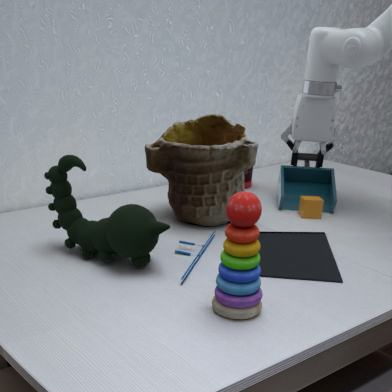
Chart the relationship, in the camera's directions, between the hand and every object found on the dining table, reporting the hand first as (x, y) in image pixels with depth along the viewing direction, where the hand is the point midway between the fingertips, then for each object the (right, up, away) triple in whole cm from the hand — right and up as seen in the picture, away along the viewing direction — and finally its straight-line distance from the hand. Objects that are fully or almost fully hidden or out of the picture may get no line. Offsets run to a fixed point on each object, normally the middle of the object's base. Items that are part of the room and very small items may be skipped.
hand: (305, 168), depth 128 cm
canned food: (-17, -1, +11) cm, 20 cm away
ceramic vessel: (-28, -15, -11) cm, 34 cm away
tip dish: (0, -6, -1) cm, 6 cm away
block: (-1, -11, -7) cm, 14 cm away
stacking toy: (-21, -40, -47) cm, 65 cm away
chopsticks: (-30, -28, -30) cm, 51 cm away
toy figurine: (-44, -29, -33) cm, 62 cm away
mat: (-9, -24, -23) cm, 34 cm away
